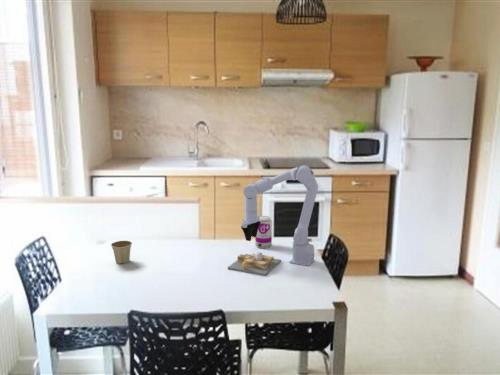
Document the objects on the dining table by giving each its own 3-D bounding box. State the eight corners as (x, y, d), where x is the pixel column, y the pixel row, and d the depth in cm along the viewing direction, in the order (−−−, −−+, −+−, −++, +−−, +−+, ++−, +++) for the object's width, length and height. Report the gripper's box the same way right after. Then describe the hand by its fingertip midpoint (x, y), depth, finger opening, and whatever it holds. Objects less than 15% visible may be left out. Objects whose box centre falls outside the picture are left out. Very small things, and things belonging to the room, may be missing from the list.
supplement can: (271, 249, 215) (271, 220, 212) (255, 249, 215) (255, 220, 212) (271, 243, 223) (271, 215, 220) (255, 243, 223) (255, 215, 220)
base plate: (281, 261, 198) (281, 249, 197) (265, 276, 182) (265, 262, 181) (245, 255, 206) (245, 243, 205) (227, 269, 190) (227, 256, 189)
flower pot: (136, 258, 205) (135, 240, 203) (128, 265, 196) (127, 247, 194) (117, 257, 206) (115, 240, 204) (108, 265, 196) (107, 246, 195)
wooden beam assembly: (273, 261, 195) (273, 256, 195) (264, 269, 187) (264, 264, 186) (244, 256, 202) (244, 251, 201) (234, 264, 193) (233, 259, 193)
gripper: (250, 205, 206) (250, 233, 208) (235, 213, 193) (236, 242, 196) (263, 207, 203) (263, 235, 205) (250, 214, 190) (250, 244, 193)
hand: (251, 238), depth 200 cm, fingers open, 5 cm apart
